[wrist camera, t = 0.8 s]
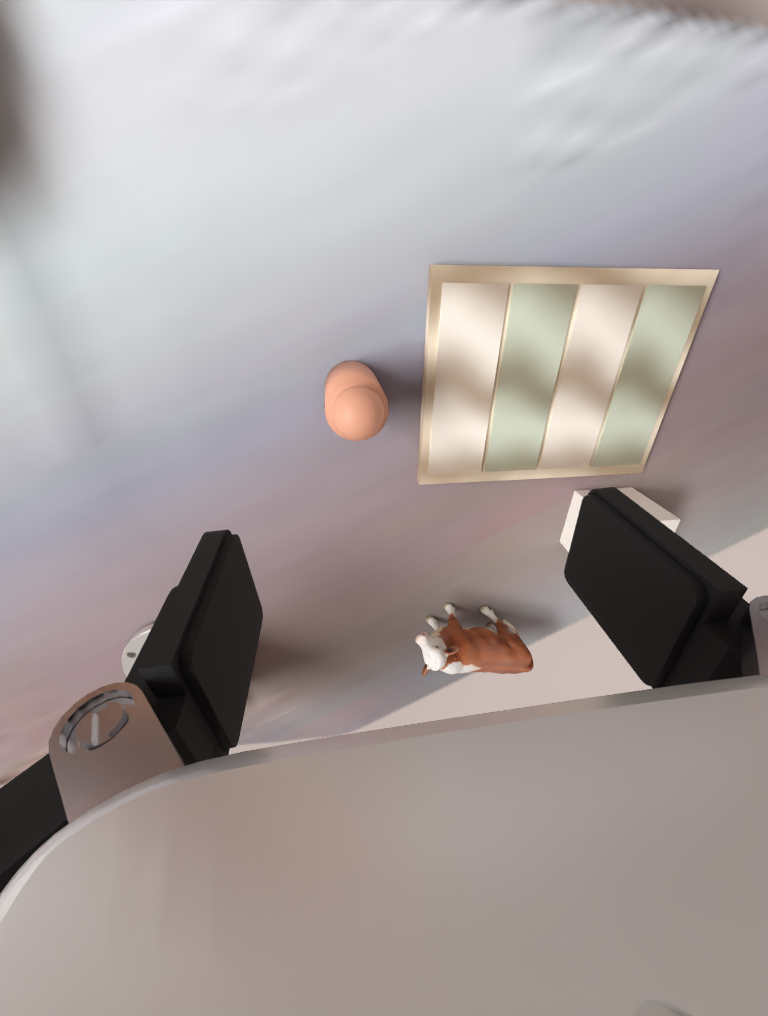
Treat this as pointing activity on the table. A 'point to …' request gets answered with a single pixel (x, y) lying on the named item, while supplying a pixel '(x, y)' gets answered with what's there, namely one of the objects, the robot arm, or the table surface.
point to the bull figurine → (474, 647)
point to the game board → (551, 368)
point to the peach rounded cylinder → (355, 401)
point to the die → (633, 494)
